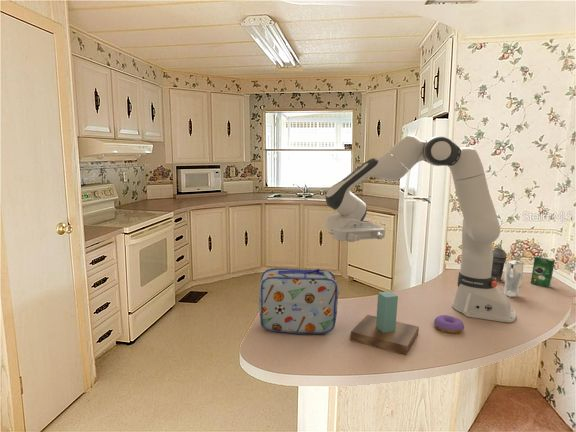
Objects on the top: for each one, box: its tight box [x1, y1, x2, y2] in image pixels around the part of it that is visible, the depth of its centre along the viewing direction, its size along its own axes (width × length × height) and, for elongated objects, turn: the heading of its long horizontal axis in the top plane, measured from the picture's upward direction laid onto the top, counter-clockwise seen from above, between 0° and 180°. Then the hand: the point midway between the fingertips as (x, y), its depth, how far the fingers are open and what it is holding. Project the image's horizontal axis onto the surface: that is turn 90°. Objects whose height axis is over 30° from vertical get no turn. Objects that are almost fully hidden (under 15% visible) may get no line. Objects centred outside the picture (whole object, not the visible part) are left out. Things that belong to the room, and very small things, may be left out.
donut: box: [433, 314, 465, 334], centre depth 141 cm, size 10×9×5 cm
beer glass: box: [502, 259, 524, 299], centre depth 175 cm, size 7×7×15 cm
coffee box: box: [530, 256, 556, 288], centre depth 190 cm, size 8×3×13 cm, turn 43°
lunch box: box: [258, 267, 340, 335], centre depth 136 cm, size 28×10×22 cm, turn 91°
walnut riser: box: [350, 314, 420, 356], centre depth 133 cm, size 18×16×3 cm
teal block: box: [376, 290, 399, 333], centre depth 132 cm, size 4×4×12 cm
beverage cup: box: [491, 239, 507, 282], centre depth 196 cm, size 7×7×20 cm
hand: (369, 237), depth 145 cm, fingers open, 8 cm apart
